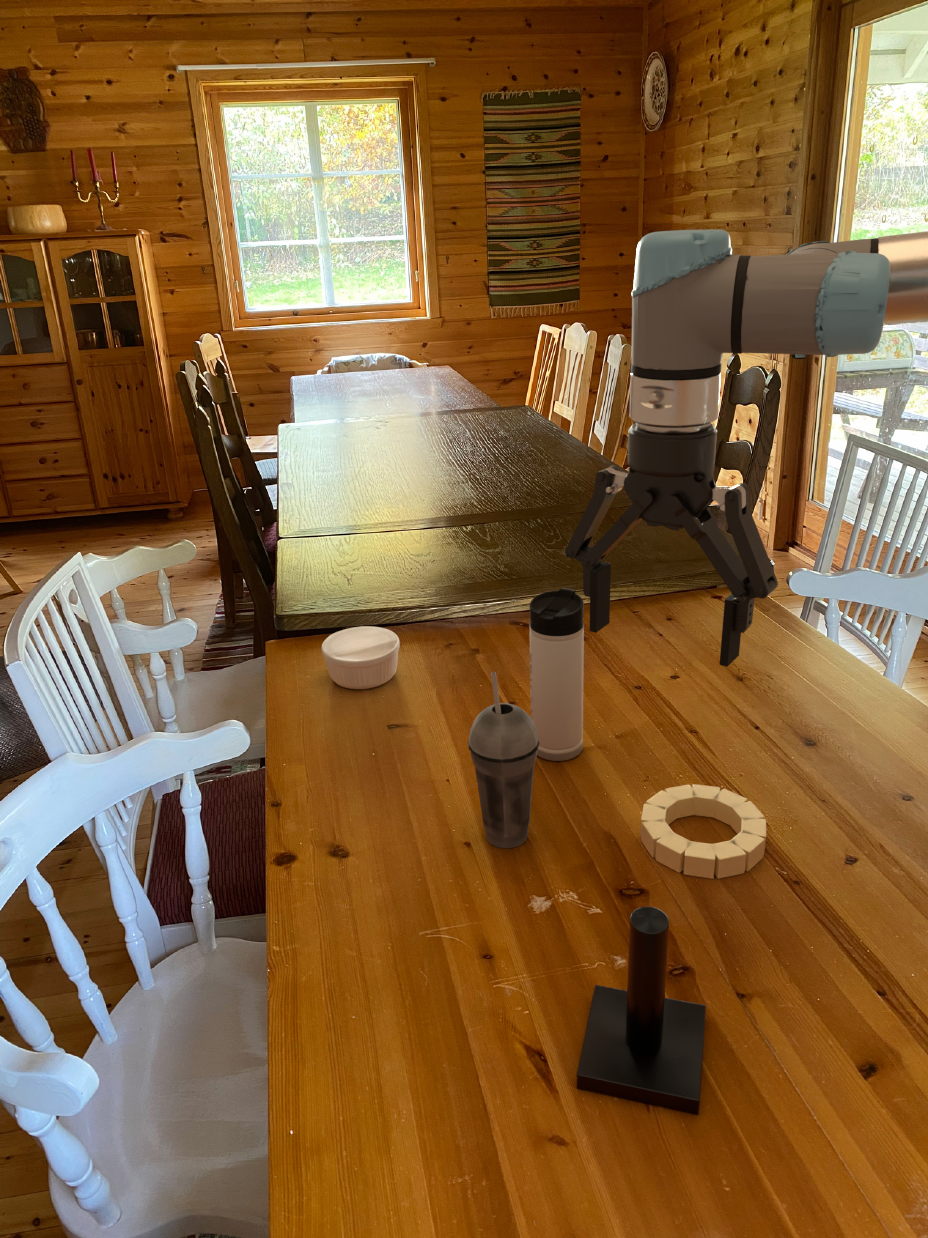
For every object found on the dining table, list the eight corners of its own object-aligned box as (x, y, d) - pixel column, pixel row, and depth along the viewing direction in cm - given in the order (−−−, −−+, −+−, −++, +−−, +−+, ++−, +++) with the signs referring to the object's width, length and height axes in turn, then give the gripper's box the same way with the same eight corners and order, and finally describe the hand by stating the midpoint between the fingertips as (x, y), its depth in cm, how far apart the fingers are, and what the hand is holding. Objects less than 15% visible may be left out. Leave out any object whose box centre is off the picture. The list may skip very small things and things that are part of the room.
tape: (763, 811, 99) (765, 792, 98) (764, 887, 88) (766, 867, 87) (648, 796, 103) (648, 778, 102) (634, 867, 92) (635, 848, 91)
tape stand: (704, 1018, 75) (716, 888, 69) (698, 1115, 67) (710, 977, 61) (595, 997, 77) (597, 870, 72) (576, 1088, 69) (577, 953, 64)
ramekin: (371, 701, 125) (368, 666, 123) (308, 683, 131) (304, 650, 129) (417, 667, 134) (414, 634, 132) (356, 652, 139) (353, 620, 137)
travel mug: (591, 740, 114) (593, 592, 105) (569, 767, 109) (570, 613, 100) (546, 729, 117) (544, 583, 108) (522, 754, 112) (519, 604, 103)
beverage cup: (554, 831, 98) (553, 664, 89) (511, 866, 93) (506, 693, 85) (502, 806, 102) (496, 645, 94) (458, 838, 97) (448, 671, 89)
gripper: (528, 417, 84) (531, 627, 92) (802, 449, 70) (775, 693, 78) (571, 402, 89) (570, 602, 98) (833, 428, 75) (804, 659, 84)
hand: (661, 643), depth 88 cm, fingers open, 13 cm apart
